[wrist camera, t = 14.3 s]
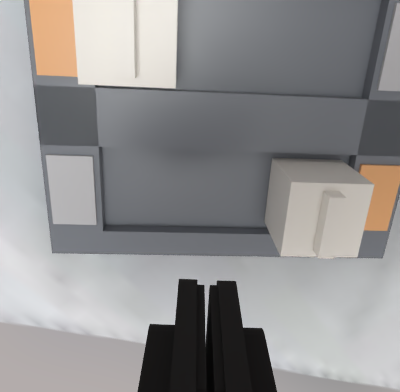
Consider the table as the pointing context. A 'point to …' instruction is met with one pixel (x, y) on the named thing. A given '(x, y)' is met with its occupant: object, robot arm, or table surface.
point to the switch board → (217, 125)
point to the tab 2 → (316, 207)
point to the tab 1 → (126, 42)
